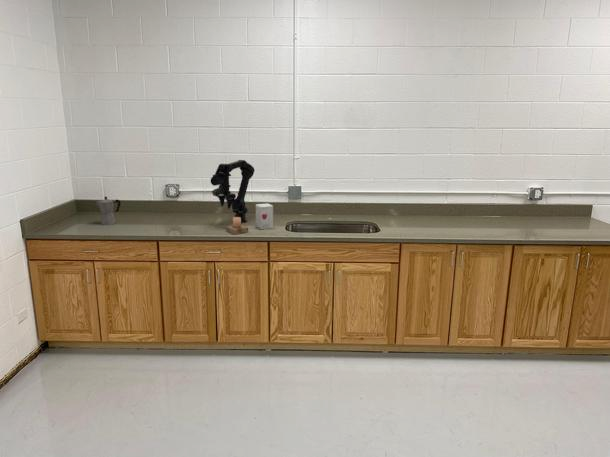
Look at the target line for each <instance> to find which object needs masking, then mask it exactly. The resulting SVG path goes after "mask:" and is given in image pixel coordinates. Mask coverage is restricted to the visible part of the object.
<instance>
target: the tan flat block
mask: <svg viewBox="0 0 610 457" xmlns="http://www.w3.org/2000/svg"><path fill="white" fill-rule="evenodd" d="M225 228H226V231H225V232H227V233H230V234H232V235H240V234H247V233H249V227H247V226H246V225H243V224H241V228H233V225H229V226H228V225H227V226H226V227H225Z"/></svg>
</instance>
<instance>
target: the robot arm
mask: <svg viewBox="0 0 610 457" xmlns="http://www.w3.org/2000/svg"><path fill="white" fill-rule="evenodd" d="M236 169H240V170H239V171H241V172H240V174H241V181H240V184H239V189H238V193H237V194H235V193H233V192H232V191H231V190H230V188H231V184H230V177H231V176H232V174H231V172H232V171H233V170H236ZM254 173H255V168H254V166H253V165H252V164H250V163H248V161H246V160H245V159H244V160H242V159H239V160H236V161H233V162H229V163H219V164H218V167H217V169H216V171H215V173H214V174H212V177H210V183H211V185H212V186H218V187H217V188H214V189H213V190H211V193H212V196H214V197H217V198H218V201H219V204H220V206H221V207H224V205H225V201H226V205H227V209H228V210H230V209H231V208H232V213H234V217H241V223H244V222H245V223H247V219H246V214H247V213H248V208H247V206H246V202H245V199H246V198H245V196H246V194H247V189H248V186H249V182H250V180H251V179H252V178H253V176H254Z"/></svg>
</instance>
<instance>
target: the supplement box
mask: <svg viewBox="0 0 610 457" xmlns="http://www.w3.org/2000/svg"><path fill="white" fill-rule="evenodd" d="M255 227H256V228H258V229H259V230H268V229H274V205H272V204H270V203H257V204H255Z"/></svg>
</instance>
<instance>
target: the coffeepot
mask: <svg viewBox="0 0 610 457" xmlns="http://www.w3.org/2000/svg"><path fill="white" fill-rule="evenodd" d="M115 203H117V207H116V210H114V204H115ZM95 204H96V205H97V207H99V209H100V212H101V215H100V216H101V217H100V224H101V225H102V226H109V224H111V225H115V224H116V223H115V222H117V221H116V219H115V215H114V214H115V213H119V212H120V207H121V204H122V202H121V200H119V199H109V198H108V196H104V199H101V200H98V201H95ZM114 211H115V213H113V212H114ZM114 223H115V224H114Z"/></svg>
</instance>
